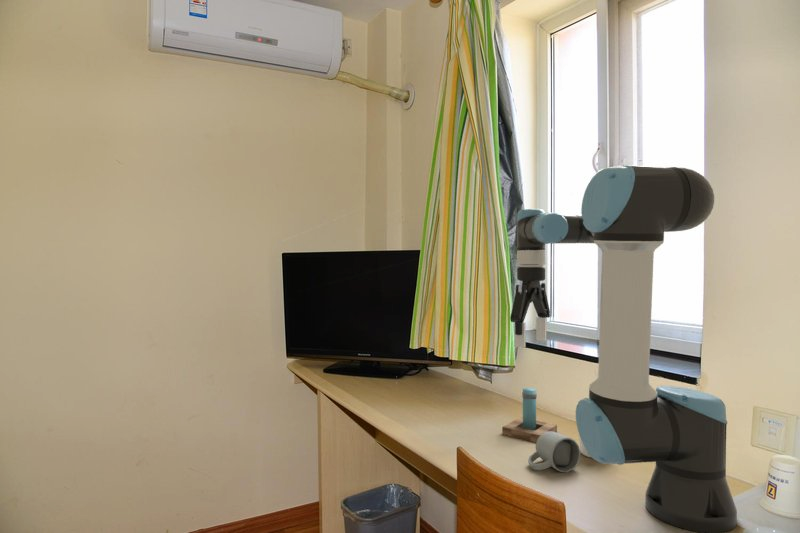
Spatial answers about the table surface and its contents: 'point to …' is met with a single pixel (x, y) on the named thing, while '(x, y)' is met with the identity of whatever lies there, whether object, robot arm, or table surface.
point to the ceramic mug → (555, 452)
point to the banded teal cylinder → (529, 408)
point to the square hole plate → (527, 430)
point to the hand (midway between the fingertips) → (531, 343)
